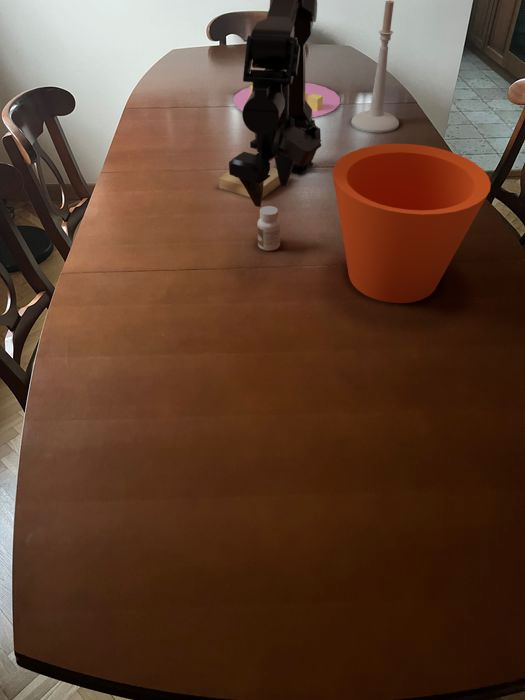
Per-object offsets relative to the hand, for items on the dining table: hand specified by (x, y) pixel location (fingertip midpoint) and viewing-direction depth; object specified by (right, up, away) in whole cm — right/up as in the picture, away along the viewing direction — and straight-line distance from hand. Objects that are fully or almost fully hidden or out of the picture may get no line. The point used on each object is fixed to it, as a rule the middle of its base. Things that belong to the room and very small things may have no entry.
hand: (271, 196), depth 110 cm
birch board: (-4, +9, +26) cm, 28 cm away
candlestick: (+29, +33, +53) cm, 69 cm away
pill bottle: (0, -8, +7) cm, 11 cm away
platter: (+6, +46, +66) cm, 81 cm away
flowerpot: (+22, -15, -1) cm, 27 cm away
